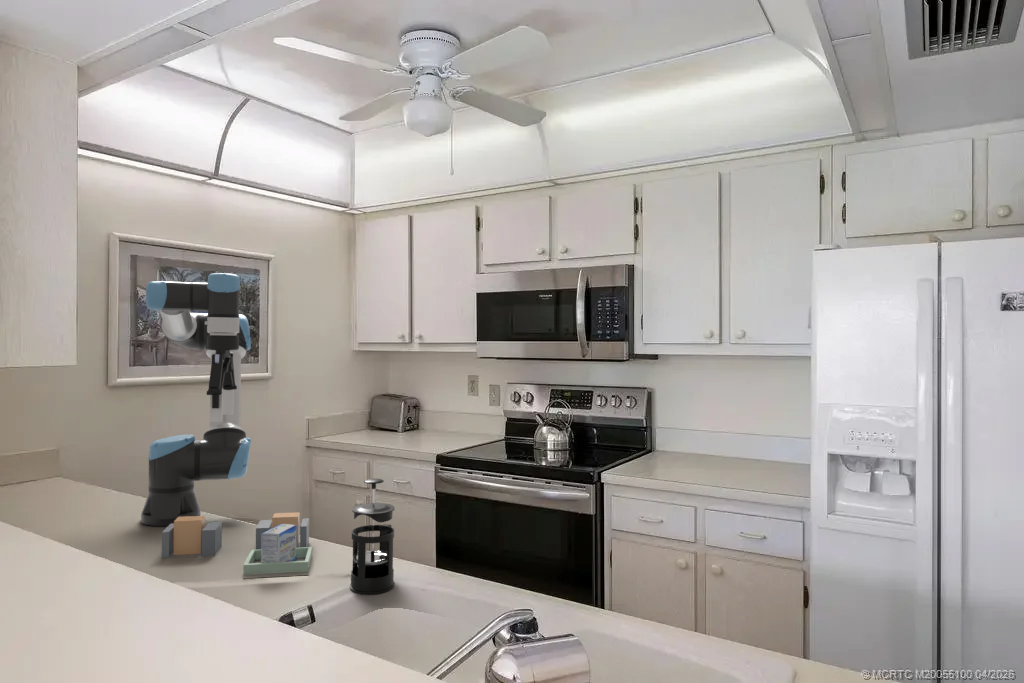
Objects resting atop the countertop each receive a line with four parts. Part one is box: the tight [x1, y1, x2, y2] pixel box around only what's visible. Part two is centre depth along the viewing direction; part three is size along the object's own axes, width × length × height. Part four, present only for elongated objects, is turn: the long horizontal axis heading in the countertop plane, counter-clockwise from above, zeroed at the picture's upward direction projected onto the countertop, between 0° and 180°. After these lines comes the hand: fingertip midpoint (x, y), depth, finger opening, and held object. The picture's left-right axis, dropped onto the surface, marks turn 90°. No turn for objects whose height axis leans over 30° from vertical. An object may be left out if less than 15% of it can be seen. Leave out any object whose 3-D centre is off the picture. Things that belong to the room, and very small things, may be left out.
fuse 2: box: [271, 511, 301, 547], centre depth 167 cm, size 4×6×8 cm, turn 102°
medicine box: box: [260, 524, 297, 563], centre depth 155 cm, size 8×4×9 cm, turn 169°
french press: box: [349, 478, 396, 596], centre depth 146 cm, size 12×9×23 cm
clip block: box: [161, 517, 310, 559], centre depth 165 cm, size 7×32×7 cm, turn 102°
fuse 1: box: [174, 515, 206, 555], centre depth 162 cm, size 4×6×8 cm, turn 102°
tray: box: [242, 546, 313, 580], centre depth 155 cm, size 11×14×3 cm
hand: (222, 418), depth 173 cm, fingers open, 13 cm apart
